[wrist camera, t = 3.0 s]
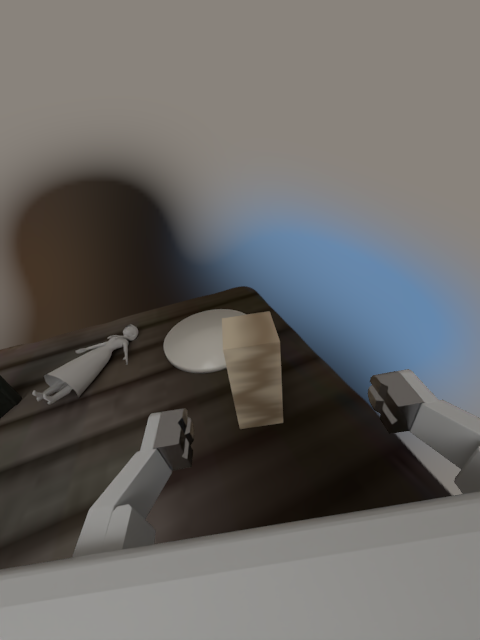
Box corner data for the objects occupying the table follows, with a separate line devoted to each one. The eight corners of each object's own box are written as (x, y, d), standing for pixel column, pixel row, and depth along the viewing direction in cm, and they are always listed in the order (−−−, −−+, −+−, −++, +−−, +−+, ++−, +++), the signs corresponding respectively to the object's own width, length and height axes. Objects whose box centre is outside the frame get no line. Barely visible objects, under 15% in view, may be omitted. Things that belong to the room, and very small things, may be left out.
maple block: (239, 429, 28) (222, 350, 21) (236, 394, 32) (221, 318, 25) (283, 422, 28) (280, 341, 21) (274, 388, 32) (269, 311, 25)
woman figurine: (6, 379, 34) (108, 315, 48) (24, 402, 36) (116, 334, 50) (63, 398, 29) (157, 321, 44) (79, 422, 32) (163, 341, 46)
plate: (156, 380, 36) (154, 375, 35) (172, 320, 49) (171, 315, 49) (265, 364, 36) (264, 359, 35) (251, 308, 49) (251, 304, 49)
